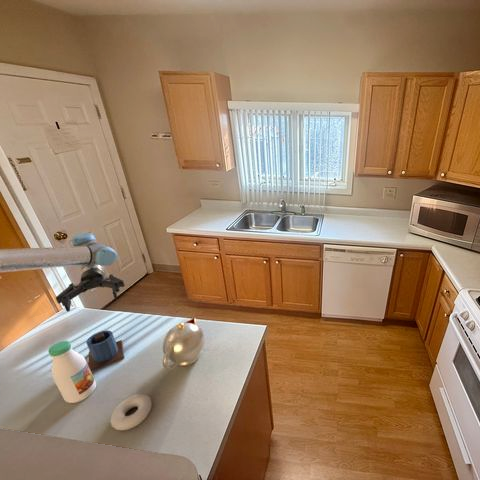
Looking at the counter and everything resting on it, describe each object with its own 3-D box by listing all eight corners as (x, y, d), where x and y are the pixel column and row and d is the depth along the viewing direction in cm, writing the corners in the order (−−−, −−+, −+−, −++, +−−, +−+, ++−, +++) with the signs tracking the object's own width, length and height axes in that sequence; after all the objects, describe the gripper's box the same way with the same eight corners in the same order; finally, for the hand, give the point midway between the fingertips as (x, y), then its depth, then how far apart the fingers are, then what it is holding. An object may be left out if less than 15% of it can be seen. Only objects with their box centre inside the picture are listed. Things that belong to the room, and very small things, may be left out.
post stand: (88, 372, 88) (79, 351, 84) (89, 353, 95) (81, 333, 91) (124, 358, 94) (117, 338, 90) (122, 341, 101) (115, 322, 97)
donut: (122, 441, 70) (159, 410, 78) (118, 433, 69) (156, 403, 76) (106, 419, 75) (142, 392, 83) (102, 412, 73) (140, 385, 81)
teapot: (183, 340, 103) (176, 307, 97) (214, 345, 102) (209, 312, 95) (150, 379, 87) (139, 343, 80) (187, 386, 86) (178, 350, 79)
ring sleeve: (90, 364, 90) (82, 347, 87) (97, 349, 96) (91, 333, 93) (114, 358, 93) (108, 342, 89) (120, 344, 99) (114, 328, 95)
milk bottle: (70, 409, 77) (45, 361, 69) (61, 395, 80) (36, 348, 72) (101, 389, 83) (81, 343, 75) (91, 377, 87) (71, 332, 79)
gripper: (130, 275, 118) (134, 298, 103) (55, 293, 103) (48, 323, 88) (126, 260, 115) (130, 282, 100) (48, 277, 100) (40, 305, 85)
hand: (91, 301), depth 94 cm, fingers open, 13 cm apart
